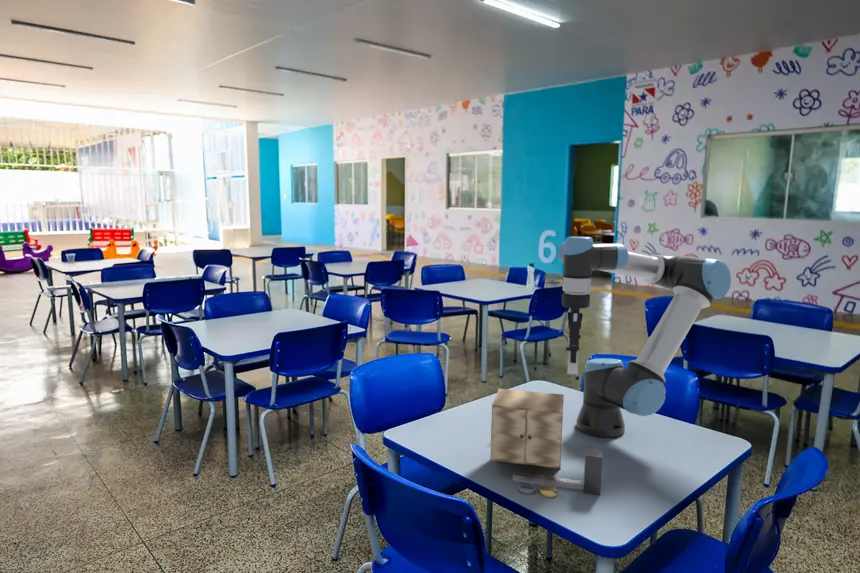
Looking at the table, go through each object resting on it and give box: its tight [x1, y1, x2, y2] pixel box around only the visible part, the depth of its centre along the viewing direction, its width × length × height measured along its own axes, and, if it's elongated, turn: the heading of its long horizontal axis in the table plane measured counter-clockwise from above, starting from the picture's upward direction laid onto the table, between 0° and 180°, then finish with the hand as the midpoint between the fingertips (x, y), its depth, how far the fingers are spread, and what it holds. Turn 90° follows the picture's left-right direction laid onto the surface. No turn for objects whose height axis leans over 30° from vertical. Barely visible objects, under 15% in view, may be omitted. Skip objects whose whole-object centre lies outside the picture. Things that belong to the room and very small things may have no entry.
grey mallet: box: [512, 447, 603, 496], centre depth 144 cm, size 22×5×10 cm, turn 75°
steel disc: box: [517, 482, 537, 496], centre depth 142 cm, size 4×4×1 cm
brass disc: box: [539, 485, 559, 499], centre depth 140 cm, size 4×4×1 cm
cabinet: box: [490, 388, 565, 470], centre depth 151 cm, size 18×15×20 cm
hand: (572, 367), depth 158 cm, fingers open, 13 cm apart
